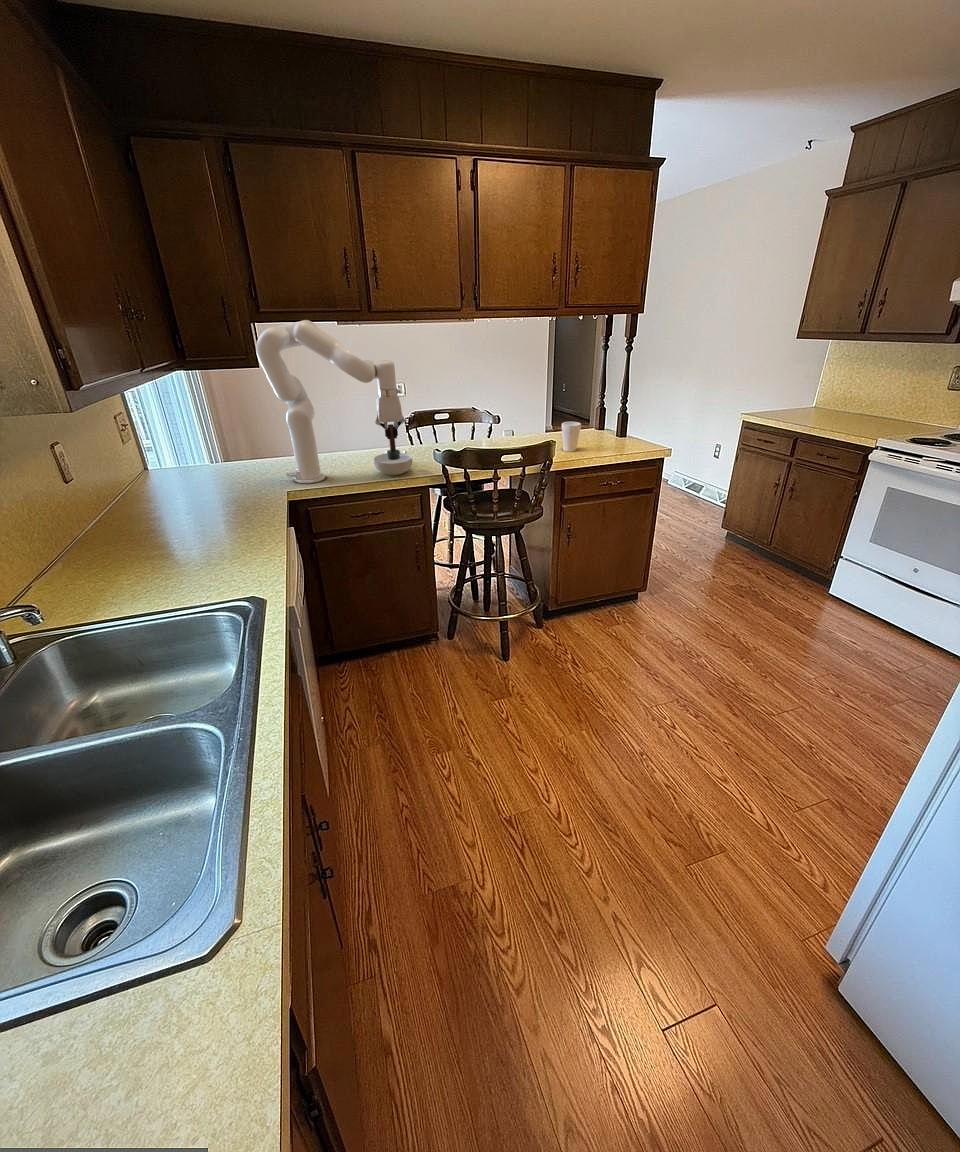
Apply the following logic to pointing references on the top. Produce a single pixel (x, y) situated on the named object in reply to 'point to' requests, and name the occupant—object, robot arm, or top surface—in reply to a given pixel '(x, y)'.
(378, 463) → the cereal bowl
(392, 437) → the brush
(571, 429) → the foam cup
